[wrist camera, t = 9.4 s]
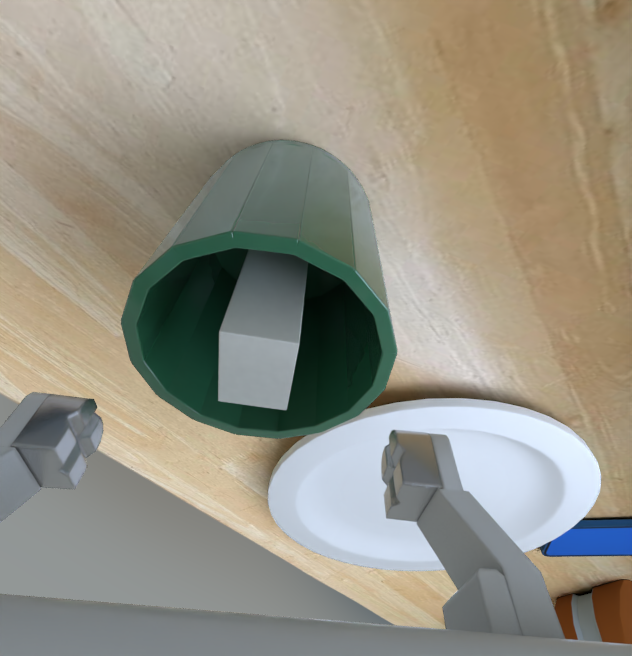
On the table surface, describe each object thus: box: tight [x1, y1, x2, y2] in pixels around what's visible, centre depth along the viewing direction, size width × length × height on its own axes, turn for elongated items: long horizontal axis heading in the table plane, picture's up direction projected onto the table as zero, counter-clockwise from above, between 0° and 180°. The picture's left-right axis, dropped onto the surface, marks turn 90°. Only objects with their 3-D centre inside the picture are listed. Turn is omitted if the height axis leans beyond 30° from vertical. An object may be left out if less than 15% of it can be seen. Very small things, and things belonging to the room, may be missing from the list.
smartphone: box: [540, 519, 632, 557], centre depth 40 cm, size 7×1×15 cm
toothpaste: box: [218, 249, 308, 410], centre depth 16 cm, size 3×3×10 cm
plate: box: [268, 398, 601, 571], centre depth 36 cm, size 28×28×2 cm
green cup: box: [121, 140, 397, 439], centre depth 17 cm, size 9×9×10 cm
